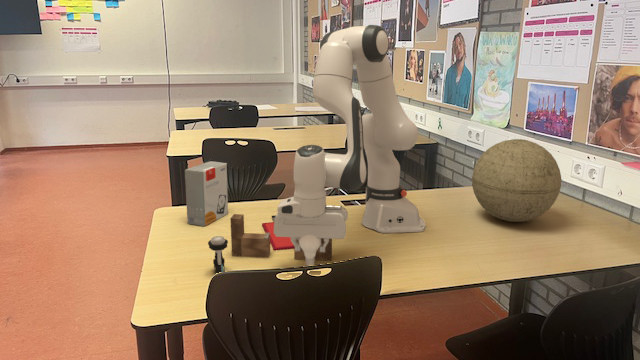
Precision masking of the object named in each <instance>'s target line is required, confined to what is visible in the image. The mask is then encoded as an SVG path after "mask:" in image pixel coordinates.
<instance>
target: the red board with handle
mask: <svg viewBox="0 0 640 360" xmlns="http://www.w3.org/2000/svg"><path fill="white" fill-rule="evenodd" d="M276 215H277V214H275V215H271V217H272V220H273V221H270V222H262V223H261V227H262V229H263V230H264V232H265V233H264V234H266V233H270V246H271V247H272V250H273V252H274V251H275V252H276V250H277V251H284V250H294V245H293V243H292V242H291V237H276V236H275V234H274V221H275V217H276Z"/></svg>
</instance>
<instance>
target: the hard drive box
mask: <svg viewBox="0 0 640 360" xmlns="http://www.w3.org/2000/svg"><path fill="white" fill-rule="evenodd" d="M227 166H228V163H227V162H220V161H211V160H210V161H206V162H203V163H201V164H198V165H195V166H192V167H190V168H186V169H185V170H184V178H185V180H184V181H185V199H186V215H187V216H186V221H187V224H189V225H195V226H200V227H206V226H208V225H210V224H212V223H213V222H215V221H218V220H219V219H221V218H223V217H225V216H227V215H228V214H229V201H228V199H229V198H228V197H229V196H228V171H227V170H228V168H227Z"/></svg>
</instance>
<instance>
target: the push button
mask: <svg viewBox="0 0 640 360" xmlns="http://www.w3.org/2000/svg"><path fill="white" fill-rule="evenodd" d="M228 244H229V241H228V239H226V238H225V237H224V236H222V235H219V236H218V235H217V236H212V237H211V239H210V240H209V241H207V245H208V249H210V250H211V251H214V259H213V260H212V261H213V262H212V263H213V269H214V273H215V274H216V273H219V272H223V273H224V271H226V266H225V261H226V260H225V258H224V257H223V252H222V251H224V250H225V249H226V248H228Z"/></svg>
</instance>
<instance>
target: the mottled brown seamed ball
mask: <svg viewBox="0 0 640 360" xmlns="http://www.w3.org/2000/svg"><path fill="white" fill-rule="evenodd" d="M471 181H472V182H471V184H472V185H471V186H472V190H473V193H474V195H475V198H476V200H477V202H478V204H480V206H481V207H482V209H484V210H485V211H486V212H487V213H488V214H490V215H491V216H493V217H494V218H497V219H498V220H502V221H505V222H511V223H522V222H526V221H527V222H528V221H531V220H535V219H537V218H538V217H541V216H542V215H544V214H545V213H546V212H547V211H549V210H550V208H552V206H554V204H555V202H556V201H557V198H558V196H559V195H560V191H561V187H562V174H561V170H560V167H559V164H558V162H557V160H556V159H555V157H554V156H553V155H552V153H550V152H549V150H547V149H546V148H545V147H544V146H541V145H540V144H538V143H536V142H534V141H531V140H529V139H528V140H527V139H521V138H520V139H519V138H514V139H507V140H503V141H500V142H498V143H495V144H494V145H492V146H490V147H489V148H487V149H486V150H485V151H484V152H482V154H481V155H480V156H479V158H478V159H477V160H476V163H475V165H474V168H473V171H472V177H471Z"/></svg>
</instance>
